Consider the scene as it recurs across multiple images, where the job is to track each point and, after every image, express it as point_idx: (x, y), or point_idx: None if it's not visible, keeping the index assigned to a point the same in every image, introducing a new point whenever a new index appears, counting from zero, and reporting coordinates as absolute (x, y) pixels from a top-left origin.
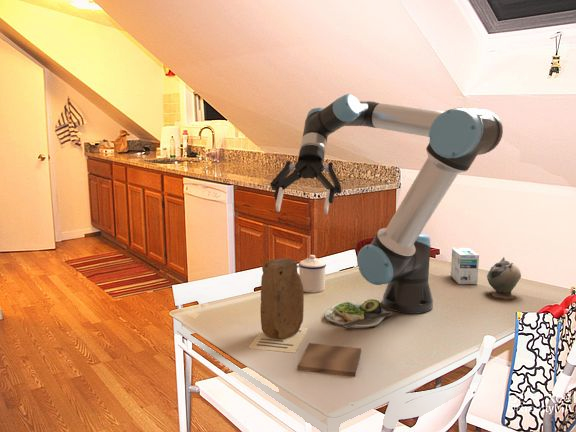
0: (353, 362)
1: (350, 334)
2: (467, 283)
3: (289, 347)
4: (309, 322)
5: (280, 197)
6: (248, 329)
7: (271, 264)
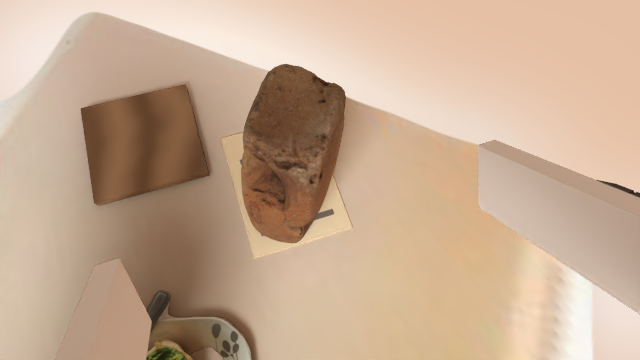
0: (93, 139)
1: (147, 281)
2: None
3: (241, 151)
4: (270, 296)
5: (549, 195)
6: (366, 185)
7: (303, 74)
